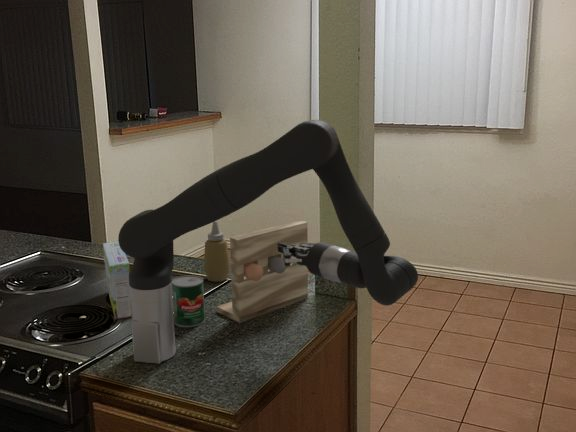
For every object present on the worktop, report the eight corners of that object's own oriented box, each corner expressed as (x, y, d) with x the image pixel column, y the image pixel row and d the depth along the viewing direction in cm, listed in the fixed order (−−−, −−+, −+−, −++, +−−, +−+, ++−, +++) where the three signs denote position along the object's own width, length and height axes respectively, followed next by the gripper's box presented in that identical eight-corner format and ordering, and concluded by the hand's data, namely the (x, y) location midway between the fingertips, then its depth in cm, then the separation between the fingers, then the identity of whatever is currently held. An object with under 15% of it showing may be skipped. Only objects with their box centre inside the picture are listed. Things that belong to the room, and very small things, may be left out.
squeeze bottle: (202, 284, 188) (200, 225, 184) (205, 274, 196) (202, 218, 191) (230, 283, 188) (227, 225, 184) (231, 274, 196) (229, 218, 192)
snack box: (106, 292, 182) (101, 242, 179) (125, 289, 184) (122, 240, 181) (113, 320, 163) (108, 265, 159) (135, 317, 165) (131, 262, 161)
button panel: (307, 298, 176) (307, 222, 171) (240, 323, 161) (237, 240, 155) (283, 289, 183) (282, 215, 178) (216, 311, 168) (213, 232, 162)
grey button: (286, 271, 165) (286, 257, 164) (275, 275, 163) (275, 260, 162) (276, 267, 168) (276, 253, 167) (265, 271, 165) (264, 256, 164)
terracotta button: (263, 278, 160) (263, 263, 159) (251, 282, 157) (250, 267, 156) (253, 275, 163) (253, 260, 162) (241, 278, 160) (240, 263, 159)
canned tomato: (187, 330, 157) (185, 288, 154) (167, 321, 162) (165, 281, 159) (211, 320, 163) (209, 279, 160) (191, 312, 168) (189, 273, 165)
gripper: (353, 239, 141) (299, 225, 153) (310, 253, 132) (257, 237, 145) (353, 271, 143) (300, 255, 155) (311, 286, 134) (258, 268, 146)
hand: (279, 246), depth 150 cm, fingers closed
